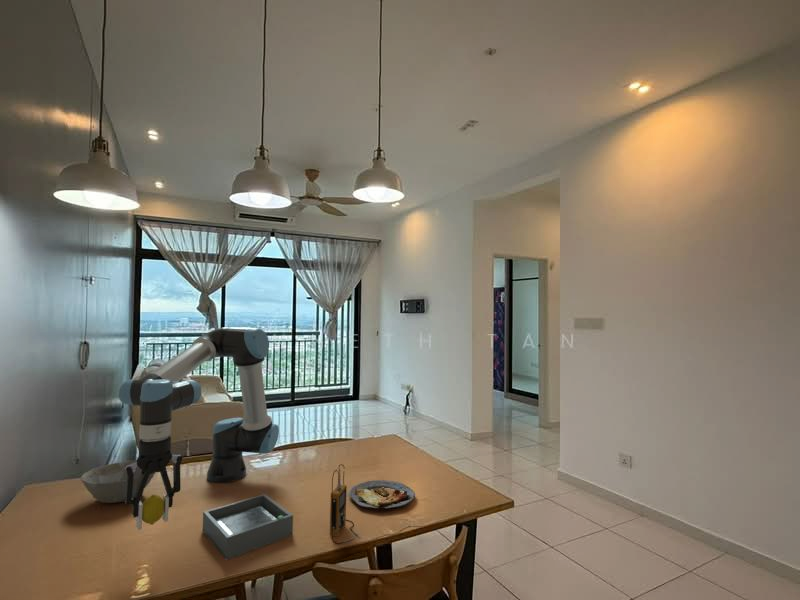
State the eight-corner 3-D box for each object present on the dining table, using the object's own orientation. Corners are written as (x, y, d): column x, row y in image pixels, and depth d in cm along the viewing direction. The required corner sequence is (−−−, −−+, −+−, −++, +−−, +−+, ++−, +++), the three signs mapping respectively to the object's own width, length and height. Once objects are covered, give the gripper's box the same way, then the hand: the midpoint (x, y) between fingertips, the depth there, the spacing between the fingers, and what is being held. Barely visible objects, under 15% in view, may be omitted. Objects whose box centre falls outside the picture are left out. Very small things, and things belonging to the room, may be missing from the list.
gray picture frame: (213, 523, 127) (214, 519, 127) (260, 508, 137) (260, 505, 137) (232, 543, 116) (232, 539, 116) (281, 526, 126) (281, 522, 126)
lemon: (146, 519, 113) (147, 490, 114) (167, 519, 114) (168, 490, 114) (135, 530, 108) (136, 499, 108) (157, 529, 108) (158, 499, 109)
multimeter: (356, 547, 120) (358, 478, 121) (324, 543, 122) (326, 474, 123) (370, 523, 134) (371, 461, 135) (341, 519, 136) (343, 458, 137)
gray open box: (202, 531, 127) (203, 509, 127) (264, 511, 140) (264, 492, 141) (226, 560, 112) (227, 536, 112) (292, 535, 125) (293, 513, 126)
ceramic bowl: (164, 498, 149) (166, 470, 149) (86, 520, 132) (88, 489, 132) (146, 481, 164) (147, 455, 164) (73, 498, 147) (75, 470, 147)
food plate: (426, 504, 148) (426, 494, 148) (368, 520, 136) (368, 509, 137) (392, 482, 170) (392, 473, 170) (340, 493, 158) (340, 484, 158)
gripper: (116, 448, 102) (113, 542, 102) (196, 434, 115) (193, 517, 114) (111, 441, 108) (108, 530, 107) (187, 428, 121) (185, 507, 120)
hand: (152, 523), depth 111 cm, fingers closed on lemon, 5 cm apart
